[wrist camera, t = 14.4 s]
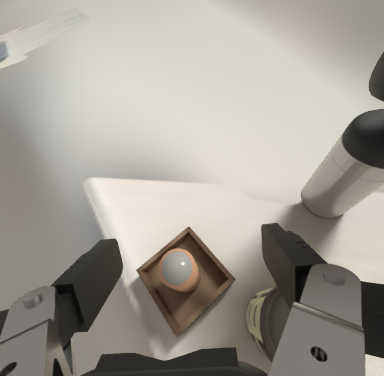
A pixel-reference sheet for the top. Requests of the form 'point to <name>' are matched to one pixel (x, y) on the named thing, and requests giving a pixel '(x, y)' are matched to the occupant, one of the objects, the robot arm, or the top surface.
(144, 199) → the top surface
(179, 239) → the walnut tray
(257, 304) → the coffee can
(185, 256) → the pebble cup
